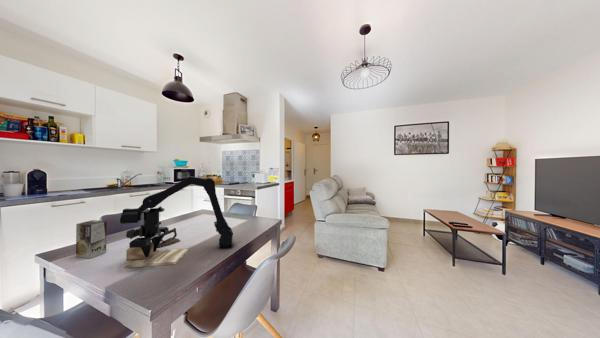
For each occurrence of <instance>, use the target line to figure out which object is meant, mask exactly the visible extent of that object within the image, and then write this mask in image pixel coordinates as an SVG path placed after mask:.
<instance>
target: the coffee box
mask: <svg viewBox="0 0 600 338" xmlns="http://www.w3.org/2000/svg"><path fill="white" fill-rule="evenodd" d="M107 224H108V221H107V220H97V219H95V220H94V219H93V220H88V221H83V222H80V223H76V224H75V227H76V230H75V231H76V232H75V238H76V239H75V242H76V244H75V257H76V258H83V259H92V258H95V257H98V256H101V255H103V254H106V253H107V237H108V236H107V234H108V233H107V231H108V229H107V226H108V225H107Z"/></svg>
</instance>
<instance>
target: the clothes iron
mask: <svg viewBox="0 0 600 338" xmlns="http://www.w3.org/2000/svg"><path fill="white" fill-rule="evenodd" d="M172 233H173V234H174V235H173V237H169V238H166V239H165V240H163V239H162V241H161V242H160V244H159V246H158V248H157V249H159V248H160V249H161V248H165V247H168V246H169V247H170V246H172V245H175V244H177V243H179V242H181V239H179V238H176V237H177V236H178V234H177V228H175V227H174V228H173V229H169V232H168V233H166V234H164V232H161V234H162V235H165V236H168V235H169V234H172Z"/></svg>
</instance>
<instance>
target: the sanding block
mask: <svg viewBox="0 0 600 338" xmlns="http://www.w3.org/2000/svg"><path fill="white" fill-rule="evenodd" d="M153 245H154V244H153ZM125 252H126V255H125V256H126V257H125V258H126V262H129V261H131V260H145V259H148V258H149V257H150V256H152V255H153V246H152V249H151V252H150V254H149V256H148V257H145V255H144V253H143V251H142V249H141V248H140V247H135V248H130V247H129V248H127V249H126V251H125Z"/></svg>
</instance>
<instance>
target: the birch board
mask: <svg viewBox="0 0 600 338" xmlns="http://www.w3.org/2000/svg"><path fill="white" fill-rule="evenodd" d="M188 251H189V248H176V249H160V250H156V251H155V252H153V255H152V256H150V257H149V258H148V259H145V260H131V261H127V263H125V264H124V265H123V269H126V268H139V267H140V268H141V267H142V268H144V267H154V266H167V265H169V266H170V265H176V264H177V262H179V261H180V260H181V259H182V258H183V257H184V256H185V255H186V254H187V252H188Z"/></svg>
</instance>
